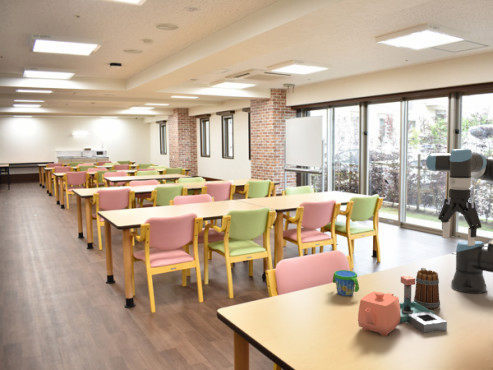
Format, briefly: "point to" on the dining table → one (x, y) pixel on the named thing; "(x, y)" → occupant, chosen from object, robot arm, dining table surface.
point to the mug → (427, 289)
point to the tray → (416, 309)
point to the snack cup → (346, 282)
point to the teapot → (379, 312)
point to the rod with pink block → (407, 293)
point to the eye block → (426, 322)
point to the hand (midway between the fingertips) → (458, 241)
